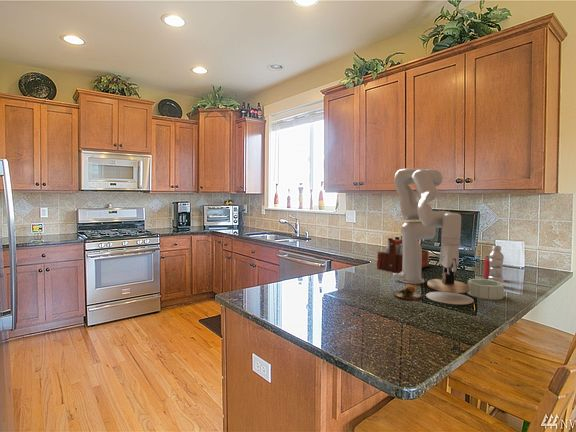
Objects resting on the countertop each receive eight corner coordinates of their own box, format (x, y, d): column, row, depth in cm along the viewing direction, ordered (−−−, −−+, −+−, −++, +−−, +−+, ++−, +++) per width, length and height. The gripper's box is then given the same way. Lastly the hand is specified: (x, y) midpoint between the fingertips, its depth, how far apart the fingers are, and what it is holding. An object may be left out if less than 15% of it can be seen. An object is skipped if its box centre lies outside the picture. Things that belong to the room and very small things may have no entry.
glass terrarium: (401, 292, 161) (401, 277, 160) (426, 298, 152) (426, 281, 152) (388, 298, 152) (388, 281, 152) (413, 304, 144) (414, 286, 143)
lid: (434, 292, 144) (435, 277, 143) (422, 280, 161) (422, 267, 160) (476, 293, 142) (477, 279, 142) (459, 282, 159) (460, 268, 159)
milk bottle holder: (430, 265, 223) (431, 236, 222) (407, 274, 198) (408, 241, 197) (399, 261, 238) (400, 233, 237) (374, 269, 212) (375, 238, 211)
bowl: (476, 299, 149) (476, 286, 149) (462, 290, 163) (462, 278, 163) (509, 300, 148) (510, 286, 147) (493, 291, 162) (493, 279, 161)
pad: (434, 304, 142) (434, 303, 142) (420, 291, 161) (420, 291, 161) (482, 305, 141) (482, 304, 141) (462, 292, 159) (462, 292, 159)
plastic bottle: (498, 287, 169) (499, 247, 168) (484, 284, 175) (486, 245, 174) (505, 286, 172) (507, 246, 171) (492, 283, 178) (493, 244, 177)
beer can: (496, 278, 189) (497, 256, 189) (498, 280, 183) (499, 258, 183) (483, 276, 192) (483, 255, 191) (484, 279, 186) (484, 257, 185)
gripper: (435, 238, 158) (433, 277, 160) (448, 244, 142) (446, 287, 144) (451, 238, 157) (449, 277, 159) (467, 244, 141) (465, 288, 143)
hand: (448, 281), depth 151 cm, fingers closed on lid, 3 cm apart
